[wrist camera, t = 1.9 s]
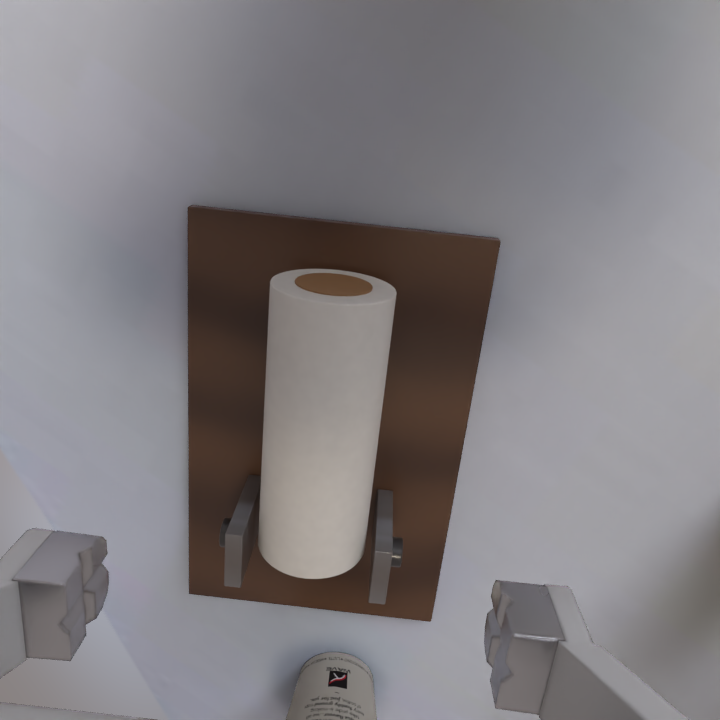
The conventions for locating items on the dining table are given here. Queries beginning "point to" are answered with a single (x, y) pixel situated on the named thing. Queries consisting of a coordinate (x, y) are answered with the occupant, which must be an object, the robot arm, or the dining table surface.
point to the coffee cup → (333, 690)
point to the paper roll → (322, 417)
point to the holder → (399, 411)
